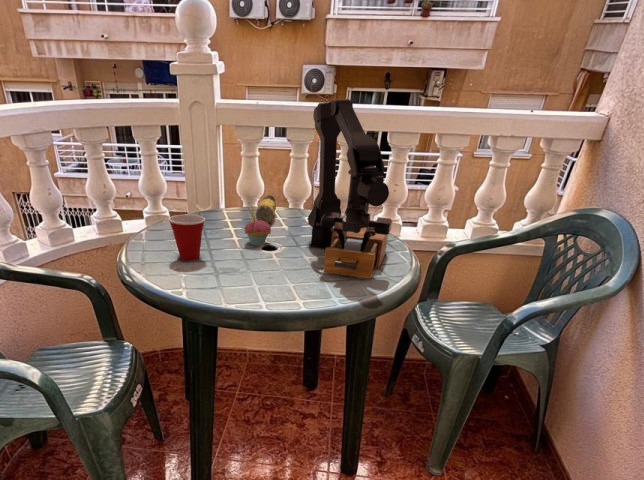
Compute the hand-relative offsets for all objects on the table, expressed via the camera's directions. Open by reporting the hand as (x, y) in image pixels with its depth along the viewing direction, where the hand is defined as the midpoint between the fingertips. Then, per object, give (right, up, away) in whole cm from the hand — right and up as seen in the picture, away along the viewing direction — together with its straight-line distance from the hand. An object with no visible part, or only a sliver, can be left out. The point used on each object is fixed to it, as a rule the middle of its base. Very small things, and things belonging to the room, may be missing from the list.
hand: (352, 253), depth 138 cm
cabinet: (+4, +2, +11) cm, 12 cm away
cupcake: (-27, +10, +22) cm, 36 cm away
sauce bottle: (-25, +24, +35) cm, 49 cm away
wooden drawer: (0, -4, +2) cm, 5 cm away
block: (0, -1, +1) cm, 1 cm away
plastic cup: (-48, +2, +11) cm, 49 cm away
